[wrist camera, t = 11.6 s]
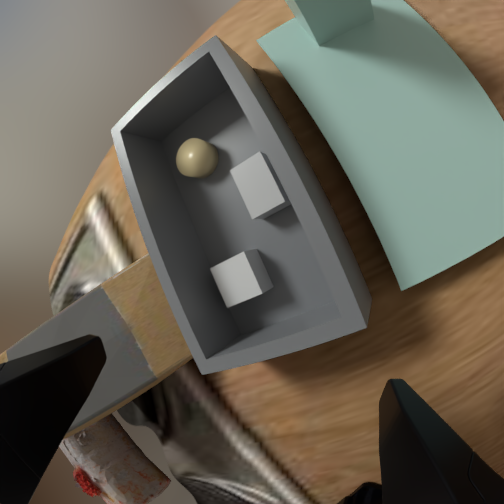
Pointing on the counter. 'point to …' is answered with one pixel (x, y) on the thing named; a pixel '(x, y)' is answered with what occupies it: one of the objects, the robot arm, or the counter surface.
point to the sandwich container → (117, 338)
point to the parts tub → (236, 216)
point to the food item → (113, 464)
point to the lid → (399, 127)
